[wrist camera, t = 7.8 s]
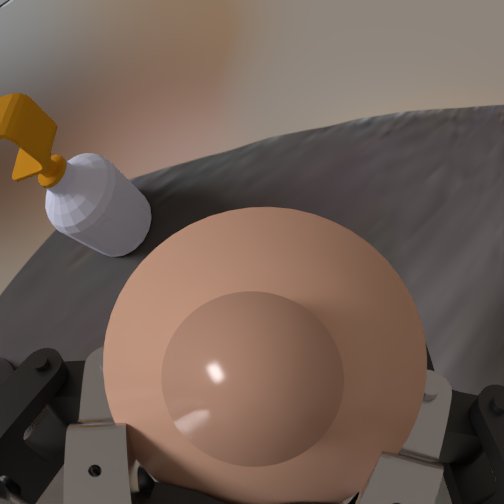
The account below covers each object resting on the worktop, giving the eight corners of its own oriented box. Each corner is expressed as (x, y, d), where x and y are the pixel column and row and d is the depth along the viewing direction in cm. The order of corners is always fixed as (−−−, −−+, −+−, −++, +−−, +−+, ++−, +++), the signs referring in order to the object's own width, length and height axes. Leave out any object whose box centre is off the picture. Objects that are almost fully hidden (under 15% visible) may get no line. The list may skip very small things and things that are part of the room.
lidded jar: (201, 414, 13) (58, 507, 4) (214, 275, 15) (89, 163, 5) (346, 426, 12) (430, 557, 3) (356, 283, 14) (464, 174, 4)
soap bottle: (96, 198, 41) (-28, 94, 18) (154, 186, 40) (40, 51, 17) (90, 260, 39) (-63, 182, 15) (152, 253, 38) (0, 145, 14)
